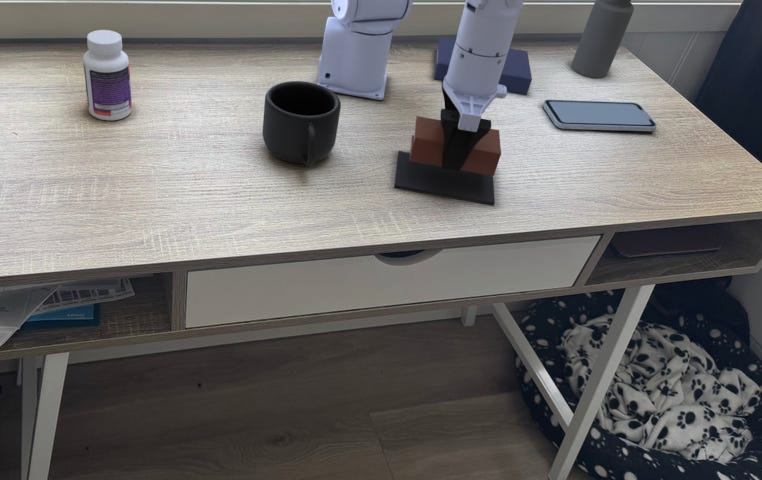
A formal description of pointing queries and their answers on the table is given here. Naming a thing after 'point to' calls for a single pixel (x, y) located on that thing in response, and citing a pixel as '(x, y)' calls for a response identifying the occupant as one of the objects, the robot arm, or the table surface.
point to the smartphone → (599, 115)
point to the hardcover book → (512, 74)
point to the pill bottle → (107, 76)
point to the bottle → (602, 37)
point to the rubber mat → (443, 181)
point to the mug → (300, 121)
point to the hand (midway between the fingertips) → (451, 155)
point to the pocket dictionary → (432, 139)
